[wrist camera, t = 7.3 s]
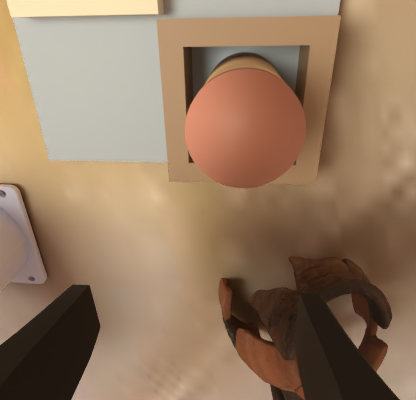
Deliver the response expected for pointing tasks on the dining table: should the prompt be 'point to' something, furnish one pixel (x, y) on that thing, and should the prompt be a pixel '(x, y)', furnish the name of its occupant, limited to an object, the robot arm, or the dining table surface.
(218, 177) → the pin
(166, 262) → the dining table surface
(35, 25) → the mount
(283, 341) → the brown curved piece
